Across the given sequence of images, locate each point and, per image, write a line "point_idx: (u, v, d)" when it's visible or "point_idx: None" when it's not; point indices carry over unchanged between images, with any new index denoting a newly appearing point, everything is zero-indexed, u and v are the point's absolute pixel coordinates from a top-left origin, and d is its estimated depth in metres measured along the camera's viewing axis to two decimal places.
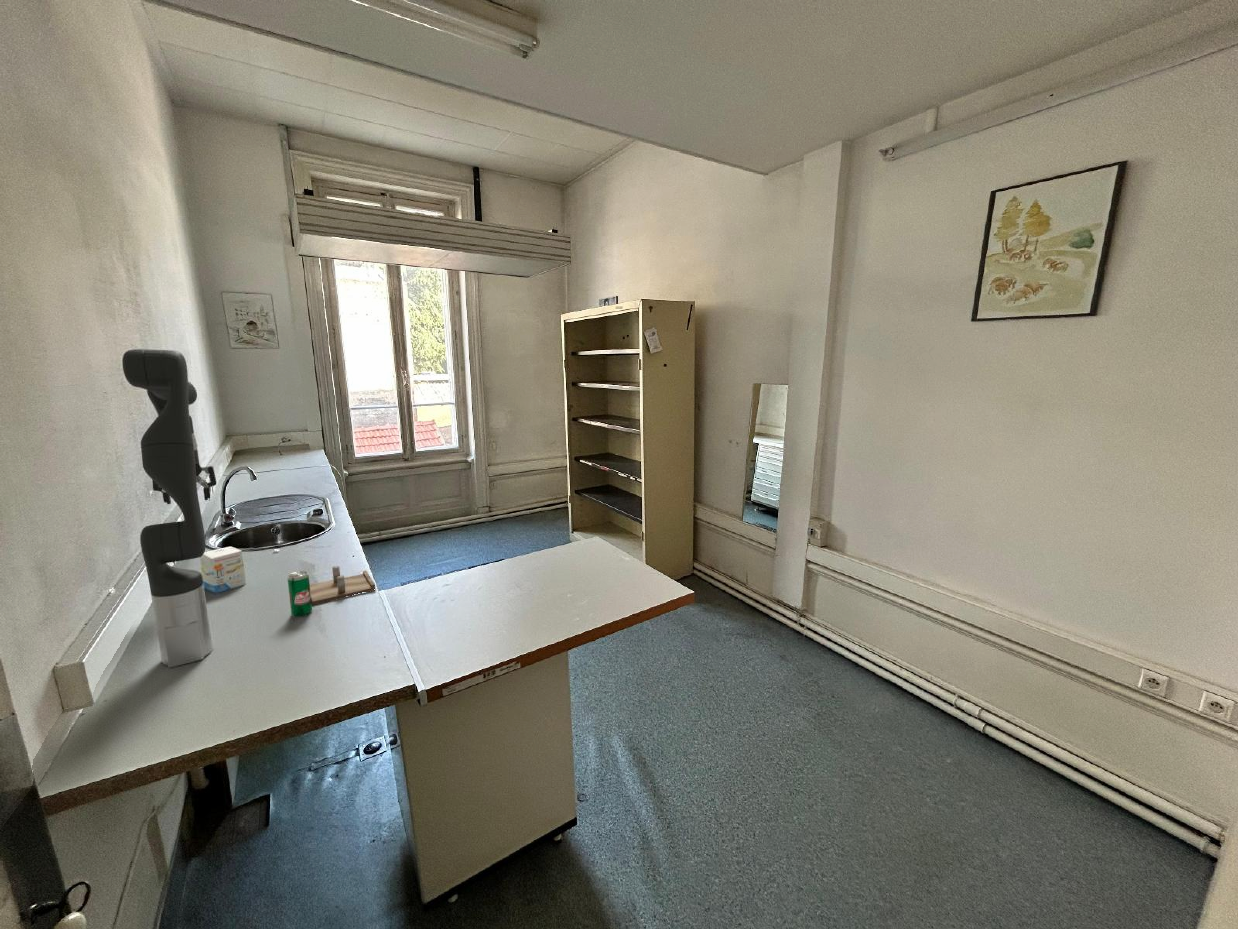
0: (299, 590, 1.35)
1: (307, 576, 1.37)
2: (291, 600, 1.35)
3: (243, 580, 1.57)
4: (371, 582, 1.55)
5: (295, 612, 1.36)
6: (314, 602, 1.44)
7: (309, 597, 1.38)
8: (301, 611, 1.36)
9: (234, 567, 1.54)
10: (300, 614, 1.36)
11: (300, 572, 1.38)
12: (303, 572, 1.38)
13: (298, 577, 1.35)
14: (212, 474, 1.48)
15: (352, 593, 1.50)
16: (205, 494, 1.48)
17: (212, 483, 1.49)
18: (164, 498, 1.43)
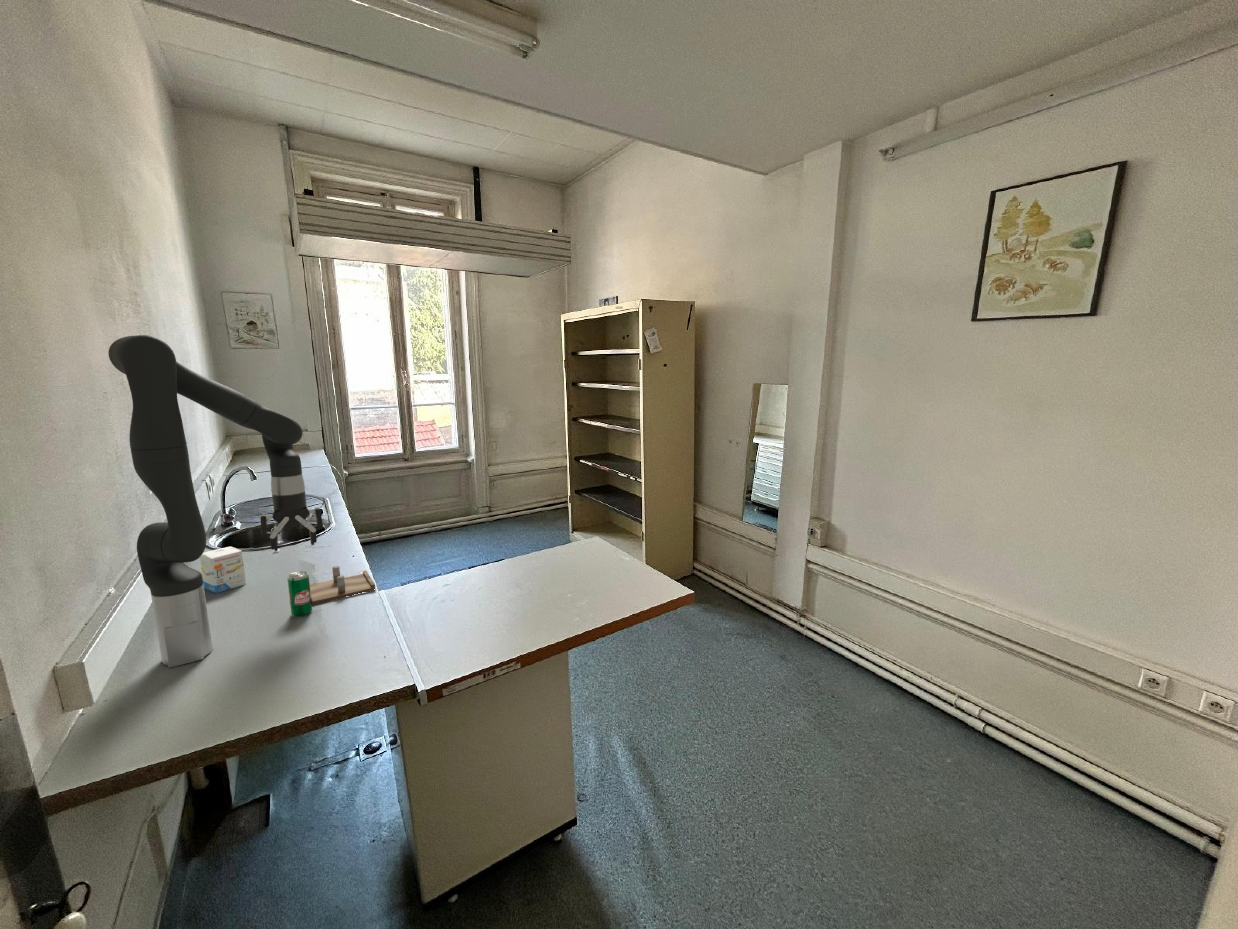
0: (299, 590, 1.35)
1: (307, 576, 1.37)
2: (291, 600, 1.35)
3: (243, 580, 1.57)
4: (371, 582, 1.55)
5: (295, 612, 1.36)
6: (314, 602, 1.44)
7: (309, 597, 1.38)
8: (301, 611, 1.36)
9: (234, 567, 1.54)
10: (300, 614, 1.36)
11: (300, 572, 1.38)
12: (303, 572, 1.38)
13: (298, 577, 1.35)
14: (319, 516, 1.37)
15: (352, 593, 1.50)
16: (312, 539, 1.37)
17: (319, 526, 1.37)
18: (272, 545, 1.31)
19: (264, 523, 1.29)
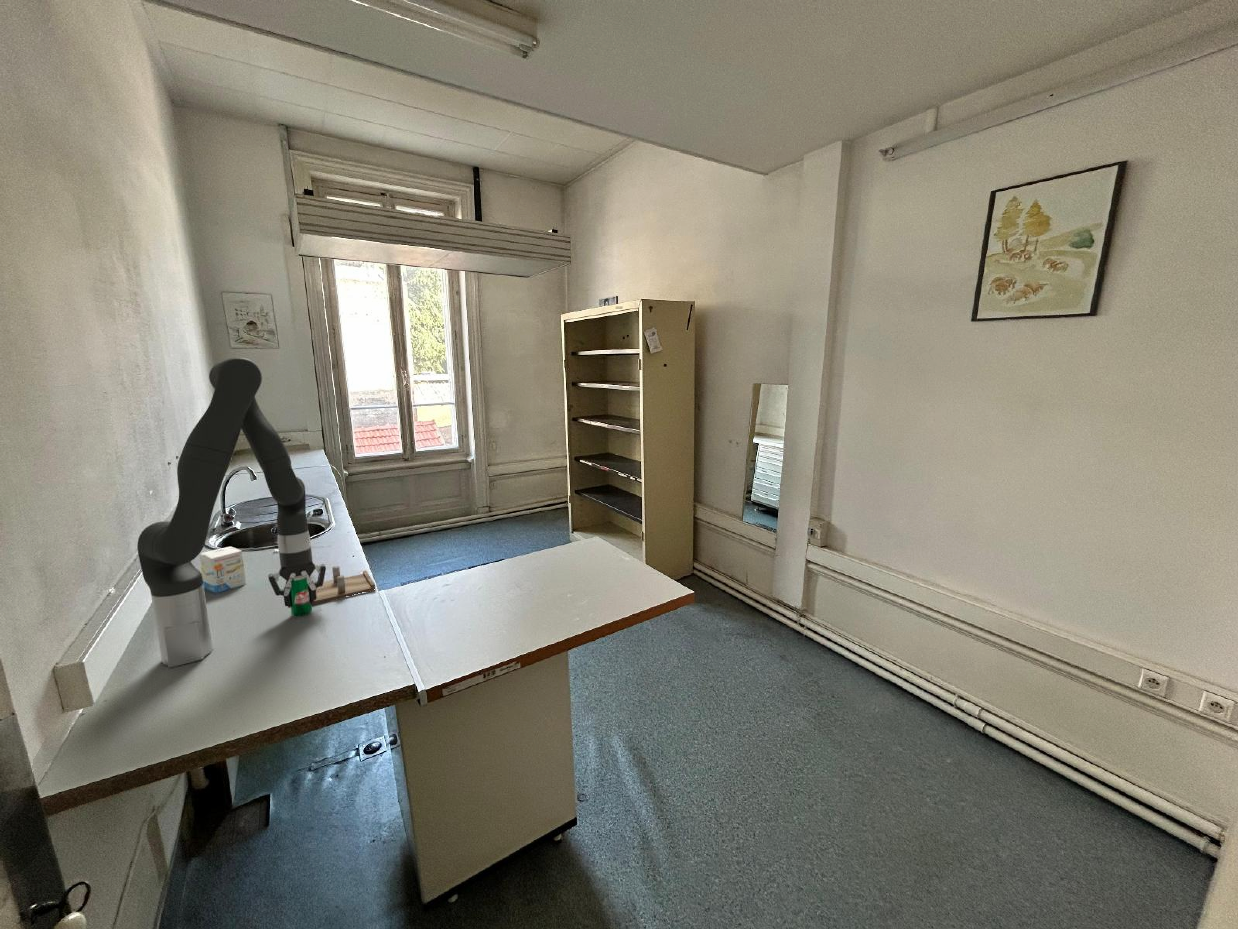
0: (299, 589, 1.35)
1: None
2: (291, 600, 1.35)
3: (243, 580, 1.57)
4: (371, 582, 1.55)
5: (295, 612, 1.36)
6: (314, 602, 1.44)
7: (309, 597, 1.38)
8: (301, 611, 1.36)
9: (234, 567, 1.54)
10: (300, 614, 1.36)
11: None
12: None
13: (298, 577, 1.35)
14: (323, 574, 1.39)
15: (352, 593, 1.50)
16: (312, 596, 1.39)
17: (319, 584, 1.39)
18: (285, 602, 1.35)
19: (274, 583, 1.32)
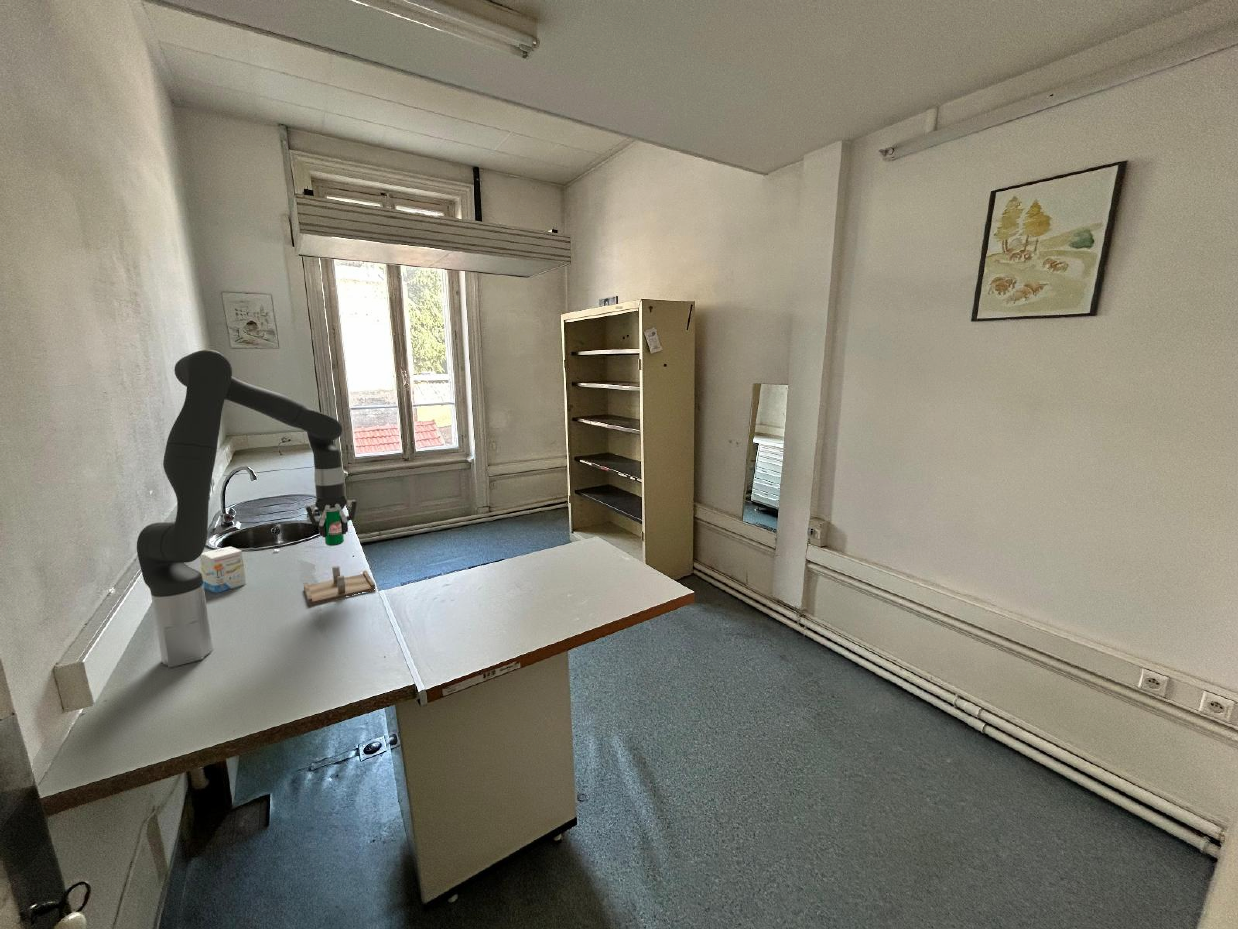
0: (333, 520, 1.48)
1: None
2: (325, 530, 1.48)
3: (243, 580, 1.57)
4: (371, 582, 1.55)
5: (329, 541, 1.48)
6: (314, 602, 1.44)
7: (341, 528, 1.50)
8: (334, 540, 1.49)
9: (234, 567, 1.54)
10: (333, 543, 1.49)
11: None
12: None
13: (332, 509, 1.47)
14: (354, 508, 1.52)
15: (352, 593, 1.50)
16: (344, 528, 1.51)
17: (350, 517, 1.52)
18: (320, 532, 1.47)
19: (310, 513, 1.45)
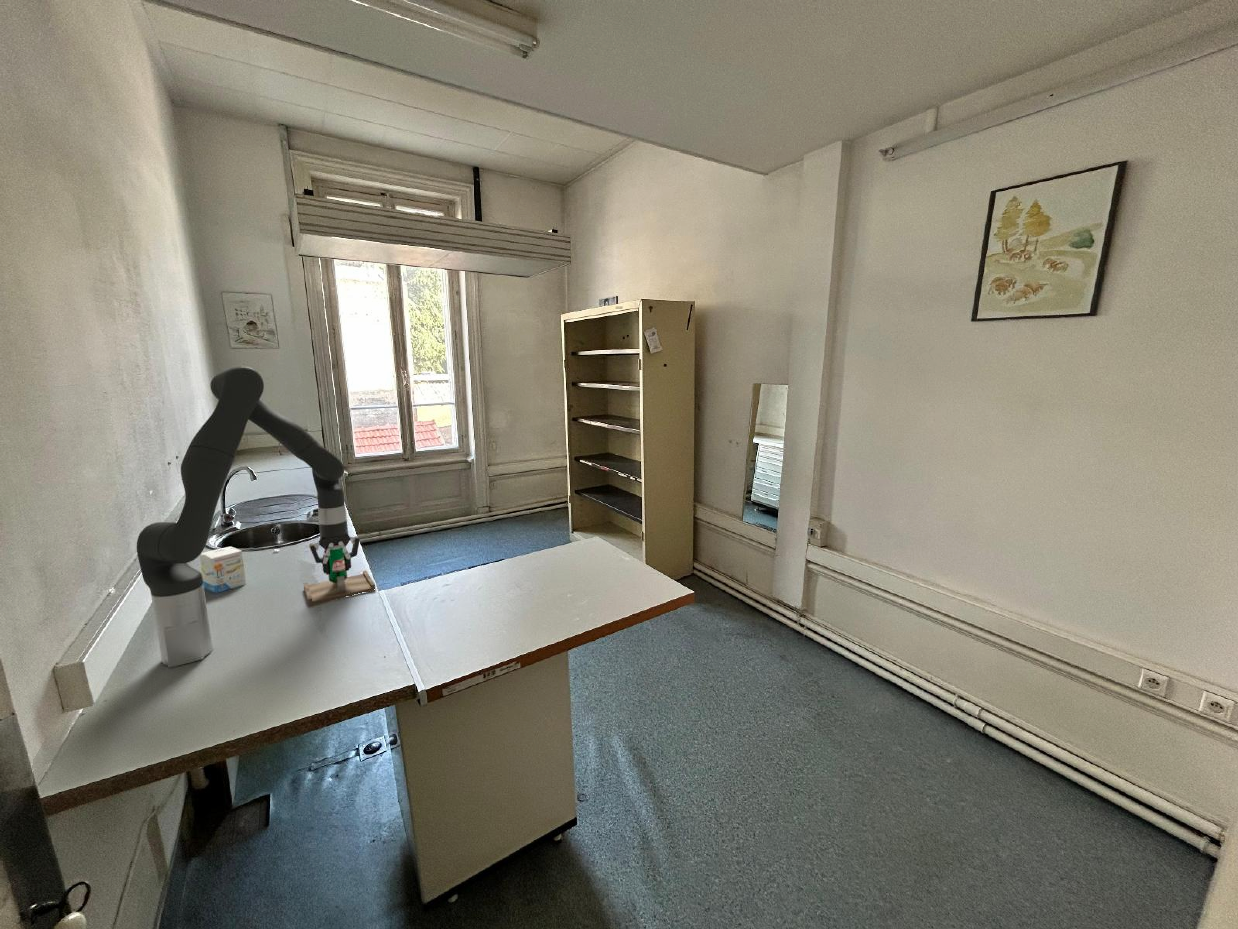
0: (336, 558, 1.50)
1: None
2: (329, 567, 1.50)
3: (243, 580, 1.57)
4: (371, 582, 1.55)
5: (332, 578, 1.50)
6: (314, 602, 1.44)
7: (345, 565, 1.53)
8: None
9: (234, 567, 1.54)
10: None
11: None
12: None
13: (335, 546, 1.49)
14: (357, 545, 1.54)
15: (352, 593, 1.50)
16: (347, 565, 1.53)
17: (354, 554, 1.54)
18: (324, 569, 1.50)
19: (314, 551, 1.47)
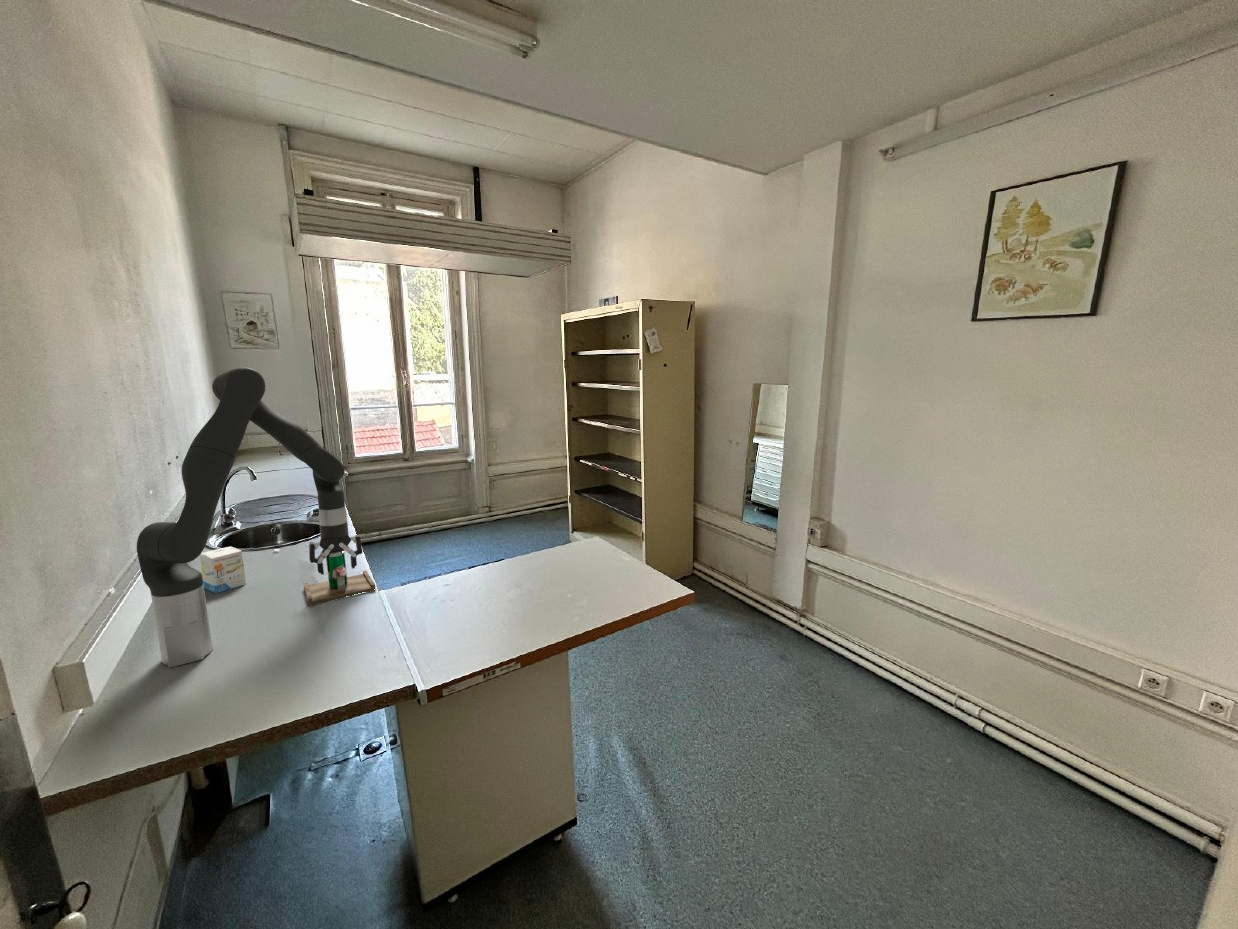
0: (336, 565, 1.50)
1: (343, 553, 1.52)
2: (329, 574, 1.50)
3: (243, 580, 1.57)
4: (371, 582, 1.55)
5: (333, 585, 1.51)
6: (314, 602, 1.44)
7: (345, 572, 1.53)
8: None
9: (234, 567, 1.54)
10: (337, 587, 1.51)
11: None
12: None
13: (335, 554, 1.50)
14: (359, 543, 1.54)
15: (352, 593, 1.50)
16: (353, 563, 1.54)
17: (359, 552, 1.54)
18: (319, 569, 1.49)
19: (313, 550, 1.47)
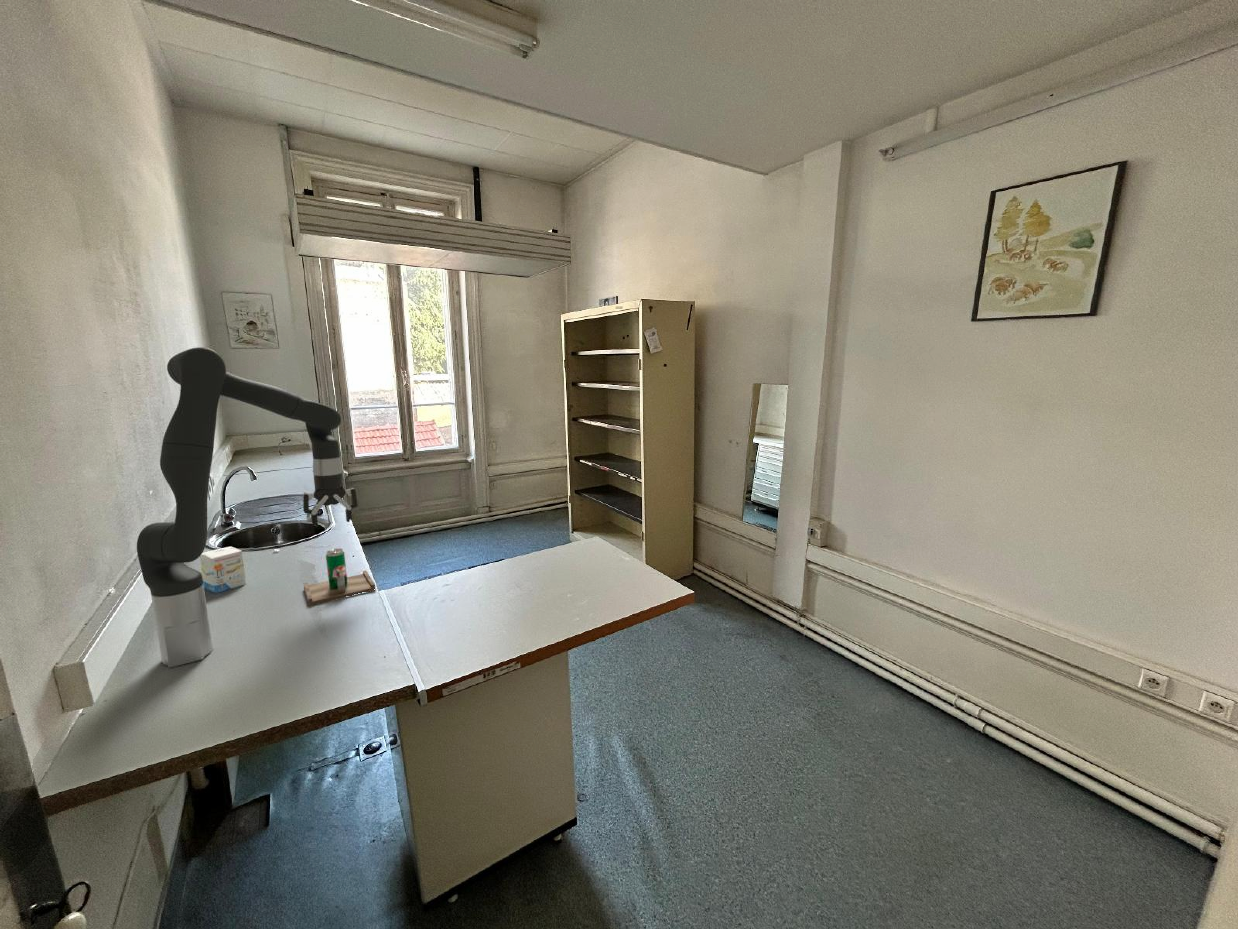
0: (336, 564, 1.50)
1: (343, 553, 1.52)
2: (329, 574, 1.50)
3: (243, 580, 1.57)
4: (371, 582, 1.55)
5: (333, 585, 1.51)
6: (314, 602, 1.44)
7: (345, 572, 1.53)
8: None
9: (234, 567, 1.54)
10: (337, 587, 1.51)
11: (336, 549, 1.53)
12: (339, 549, 1.53)
13: (335, 553, 1.50)
14: (354, 496, 1.51)
15: (352, 593, 1.50)
16: (348, 516, 1.51)
17: (354, 505, 1.52)
18: (313, 520, 1.46)
19: (306, 500, 1.44)
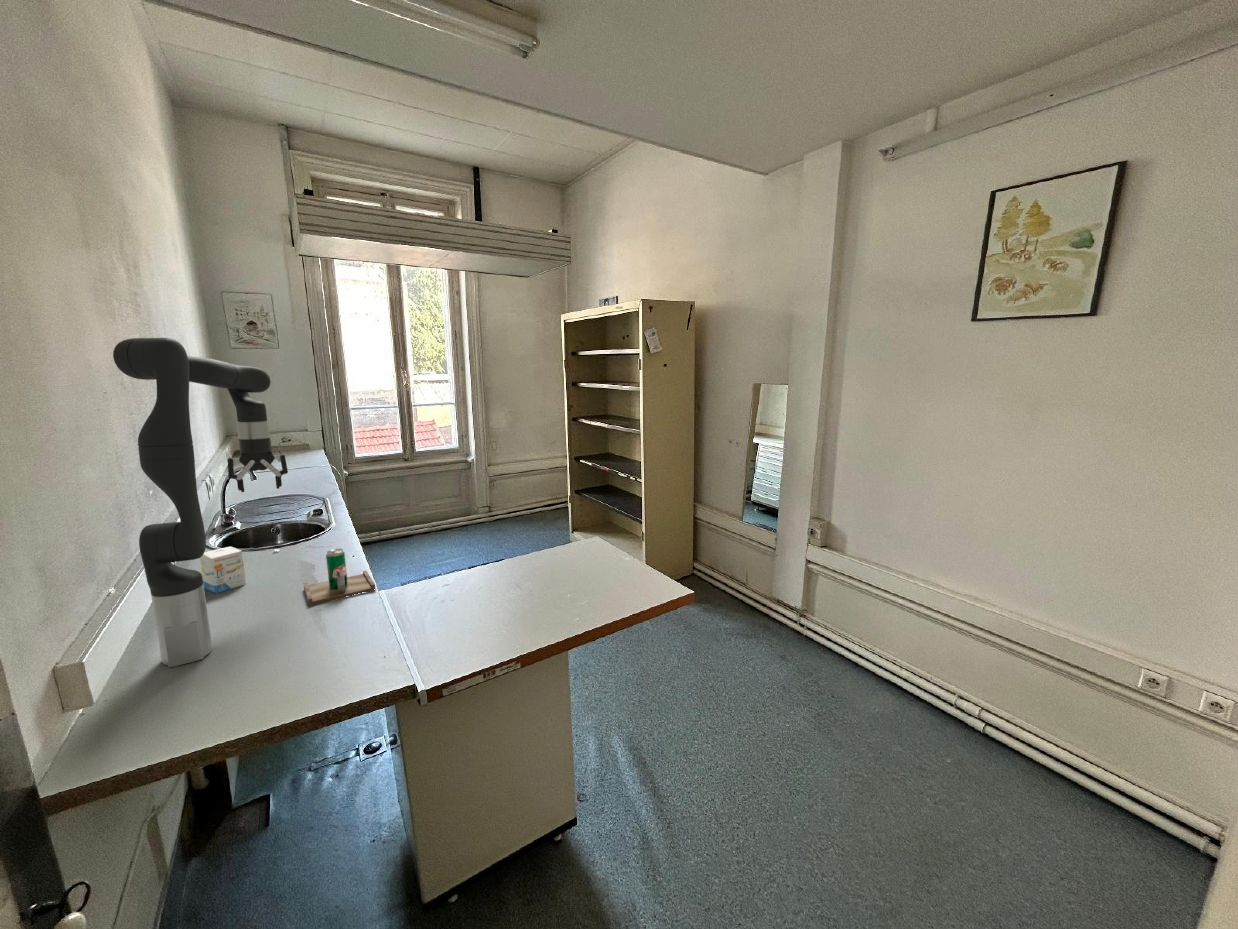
0: (336, 565, 1.50)
1: (343, 553, 1.52)
2: (329, 574, 1.50)
3: (243, 580, 1.57)
4: (371, 582, 1.55)
5: (333, 585, 1.51)
6: (314, 602, 1.44)
7: (345, 572, 1.53)
8: None
9: (234, 567, 1.54)
10: None
11: (337, 549, 1.52)
12: (339, 549, 1.52)
13: (336, 553, 1.50)
14: (284, 462, 1.47)
15: (352, 593, 1.50)
16: (277, 482, 1.47)
17: (284, 471, 1.48)
18: (238, 486, 1.42)
19: (231, 465, 1.40)
